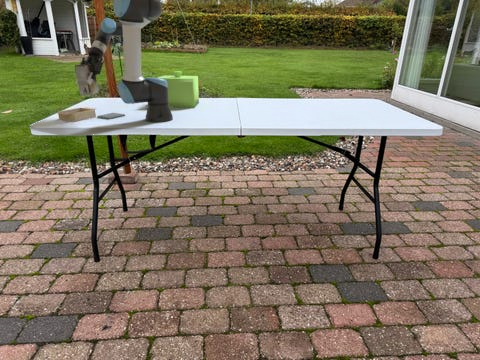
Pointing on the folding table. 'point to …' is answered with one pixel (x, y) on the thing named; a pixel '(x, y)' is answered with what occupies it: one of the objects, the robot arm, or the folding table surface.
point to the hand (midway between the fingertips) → (83, 83)
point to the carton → (77, 114)
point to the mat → (111, 116)
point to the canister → (182, 90)
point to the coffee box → (85, 79)
